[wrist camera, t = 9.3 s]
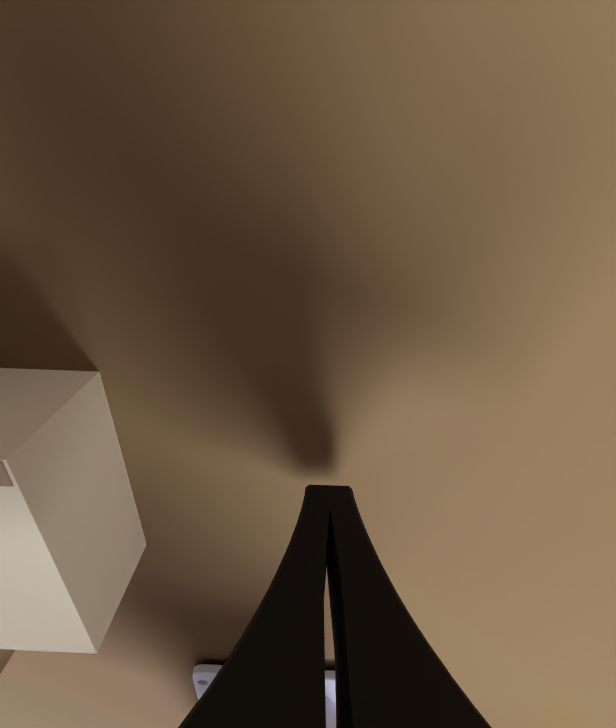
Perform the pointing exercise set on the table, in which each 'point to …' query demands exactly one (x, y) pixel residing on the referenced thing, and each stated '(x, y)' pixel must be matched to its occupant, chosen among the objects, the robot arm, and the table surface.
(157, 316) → the table surface
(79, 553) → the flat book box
